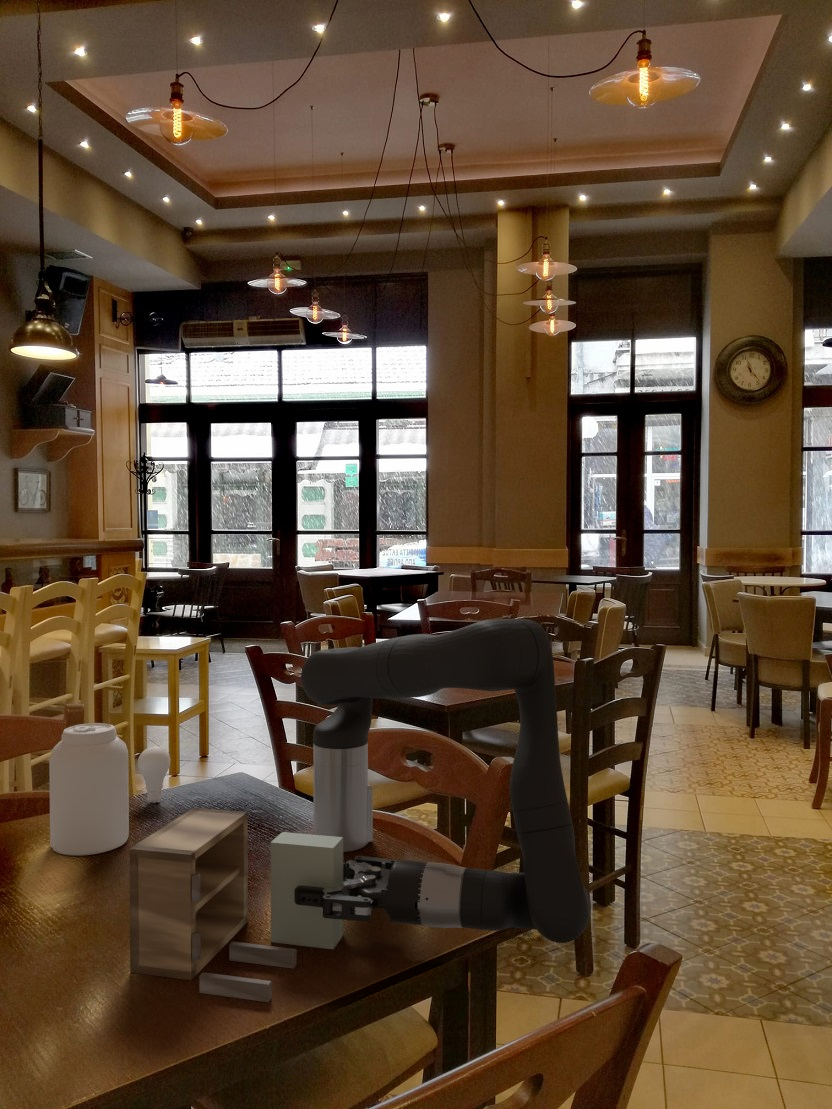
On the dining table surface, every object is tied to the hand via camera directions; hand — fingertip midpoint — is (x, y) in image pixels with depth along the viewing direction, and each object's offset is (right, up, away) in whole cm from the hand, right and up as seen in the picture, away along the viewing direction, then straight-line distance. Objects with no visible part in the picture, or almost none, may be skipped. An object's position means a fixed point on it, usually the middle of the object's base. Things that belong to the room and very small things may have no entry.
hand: (307, 881), depth 114 cm
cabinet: (-9, -8, -4) cm, 13 cm away
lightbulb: (-37, -6, +57) cm, 68 cm away
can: (-41, -7, +34) cm, 54 cm away
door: (0, -8, 0) cm, 8 cm away
